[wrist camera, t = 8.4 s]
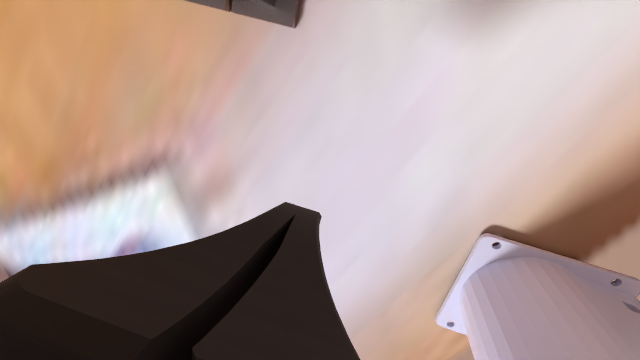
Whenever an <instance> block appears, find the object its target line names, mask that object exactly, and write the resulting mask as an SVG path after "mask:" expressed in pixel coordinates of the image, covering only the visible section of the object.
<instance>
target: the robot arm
mask: <svg viewBox="0 0 640 360" xmlns="http://www.w3.org/2000/svg"><path fill="white" fill-rule="evenodd" d="M320 220H321V215H320V213H319V212H316V211H313V210H309V209H306V208H303V207H300V206H297V205H294V204H290V203H287V202H285V203H283V204H281V205H279V206H277V207H275V208H273V209H271V210H269V211H267V212H265V213H263V214H261V215H259V216H257V217H255V218H253V219H251V220H249V221H247V222H244V223H242V224H240V225H237V226H235V227H232V228H230V229H228V230H225V231H223V232H220V233H217V234H214V235H211V236H208V237H205V238H202V239H199V240H195V241H192V242H188V243H184V244H180V245H176V246H171V247H167V248H162V249H158V250H154V251H149V252H143V253H137V254H131V255H125V256H118V257H111V258H103V259H95V260H84V261H73V262H61V263H50V264H35V265H31V266H29V267H27V268H25V269H23V270H22V271H20V272H18V273H16V274H15V275H13V276H11V277H9V278H8V279H6V280H4V281H2V282H1V283H0V360H360V358H359V356H358V354H357V352H356V350H355V349H354V347H353V345H352V343H351V341H350V339H349V337H348V335H347V332H346V330H345V328H344V326H343V323H342V321H341V319H340V317H339V314H338V312H337V310H336V307H335V305H334V302H333V299H332V296H331V293H330V290H329V287H328V283H327V280H326V276H325V272H324V268H323V263H322V258H321V251H320V242H319V224H320ZM495 242H499V244H498V245H496V246H492V244H493V243H495ZM614 279H616V280H615V281H613V282H611V281H612V280H614ZM639 294H640V281H639V280H638V279H636V278H634V277H630V276H627V275H624V274H621V273H617V272H614V271H611V270H607V269H604V268H601V267H598V266H595V265H591V264H588V263H585V262H582V261H578V260H575V259H572V258H568V257H565V256H562V255H559V254H555V253H552V252H549V251H545V250H542V249H539V248H536V247H532V246H529V245H526V244H523V243H519V242H516V241H513V240H509V239H506V238H503V237H500V236H496V235H493V234H489V233H486V234H482V235H481V236H480V237H479V238H478V240H477V242H476V244H475V246H474V247H473V249H472V251H471V253H470V255H469V257H468V258H467V260H466V262H465V264H464V266H463V267H462V269H461V271H460V273H459V275H458V277H457V278H456V280H455V282H454V284H453V286H452V288H451V289H450V291H449V293H448V295H447V297H446V299H445V300H444V302H443V304H442V306H441V308H440V309H439V311H438V313H437V315H436V322H437V324H438V325H439V326H441V327H444V328H447V329H450V330H453V331H456V332H459V333H462V334H465V335H467V336H468V339H469V343H470V346H471V349H472V353H473V356H474V359H475V360H640V301H639V300H637V299H636V297H637V296H638V295H639ZM448 322H452V323H448Z"/></svg>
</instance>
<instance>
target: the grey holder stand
mask: <svg viewBox="0 0 640 360" xmlns="http://www.w3.org/2000/svg"><path fill="white" fill-rule="evenodd" d="M299 4H300V0H232V9H231V12H233V13H236V14H240V15H244V16H248V17H252V18H256V19H260V20H264V21H268V22H272V23H276V24H280V25H284V26H288V27H292V28H295V26H296V21H297V15H298V9H299Z"/></svg>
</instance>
